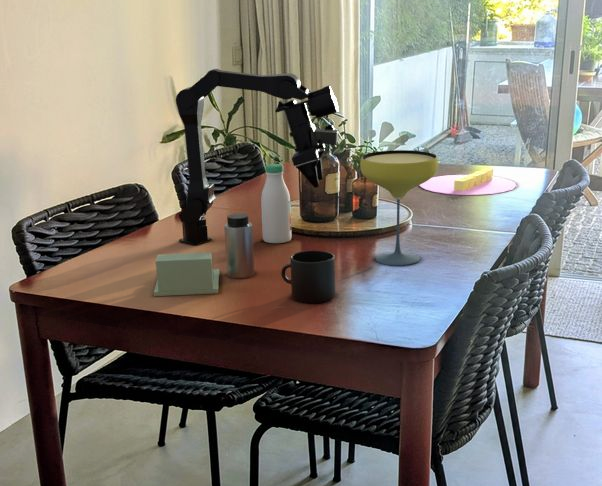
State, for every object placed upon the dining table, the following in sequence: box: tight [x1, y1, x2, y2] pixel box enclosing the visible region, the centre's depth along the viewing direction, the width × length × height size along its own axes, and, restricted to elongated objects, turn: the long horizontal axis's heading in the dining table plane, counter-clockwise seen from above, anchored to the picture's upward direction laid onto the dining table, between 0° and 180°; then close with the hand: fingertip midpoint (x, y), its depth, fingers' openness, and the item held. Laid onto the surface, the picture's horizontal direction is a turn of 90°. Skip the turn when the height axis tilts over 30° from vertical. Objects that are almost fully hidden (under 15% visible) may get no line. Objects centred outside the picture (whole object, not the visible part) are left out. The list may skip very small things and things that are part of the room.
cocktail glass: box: [359, 149, 439, 267], centre depth 206 cm, size 18×18×25 cm
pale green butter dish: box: [153, 252, 220, 297], centre depth 196 cm, size 15×14×8 cm
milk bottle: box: [260, 163, 292, 244], centre depth 227 cm, size 8×8×20 cm
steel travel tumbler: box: [223, 213, 255, 279], centre depth 201 cm, size 6×6×14 cm
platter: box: [419, 168, 517, 196], centre depth 289 cm, size 32×32×3 cm
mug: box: [280, 249, 336, 304], centre depth 186 cm, size 9×12×9 cm
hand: (318, 183), depth 221 cm, fingers open, 9 cm apart
